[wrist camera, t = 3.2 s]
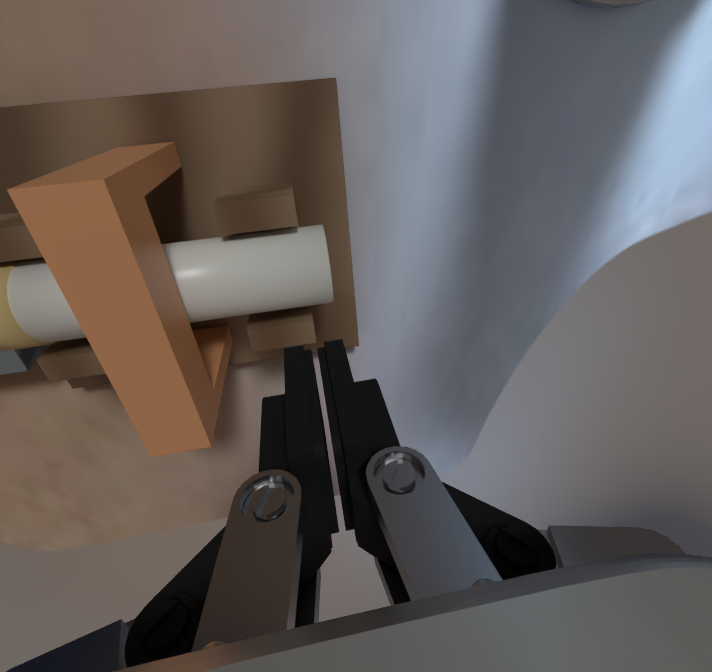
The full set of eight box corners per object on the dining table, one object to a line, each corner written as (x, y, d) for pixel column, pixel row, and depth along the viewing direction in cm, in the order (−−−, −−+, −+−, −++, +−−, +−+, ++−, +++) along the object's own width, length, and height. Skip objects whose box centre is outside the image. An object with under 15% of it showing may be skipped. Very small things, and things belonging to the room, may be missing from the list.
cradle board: (333, 77, 18) (350, 75, 13) (356, 335, 26) (372, 391, 21) (-72, 114, 16) (-214, 126, 12) (81, 375, 24) (32, 446, 19)
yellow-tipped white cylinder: (319, 215, 18) (326, 232, 15) (328, 288, 20) (336, 316, 17) (-6, 255, 17) (-73, 282, 14) (33, 328, 19) (-19, 368, 15)
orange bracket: (174, 141, 17) (103, 179, 10) (232, 339, 23) (211, 446, 16) (117, 147, 17) (7, 189, 10) (190, 345, 23) (151, 457, 16)
